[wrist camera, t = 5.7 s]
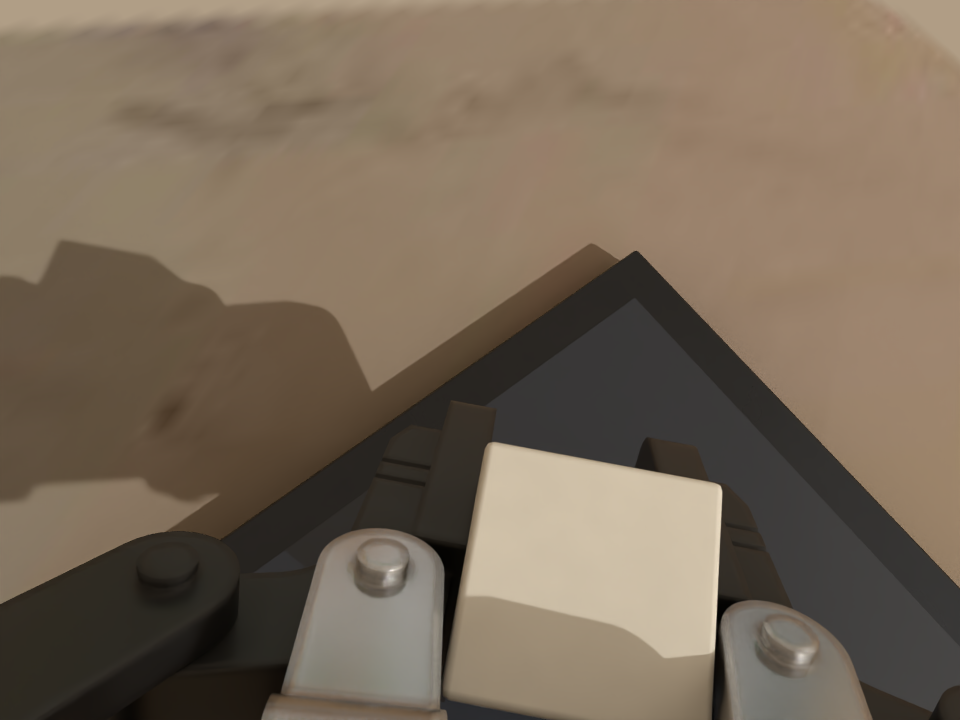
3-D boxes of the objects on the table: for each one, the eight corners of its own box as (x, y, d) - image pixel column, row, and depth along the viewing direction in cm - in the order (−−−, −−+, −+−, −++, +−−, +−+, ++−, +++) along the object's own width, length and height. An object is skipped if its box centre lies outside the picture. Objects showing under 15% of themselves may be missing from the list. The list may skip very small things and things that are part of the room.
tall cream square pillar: (439, 685, 14) (439, 698, 6) (462, 559, 15) (487, 437, 7) (563, 710, 14) (713, 753, 6) (578, 581, 15) (725, 482, 7)
